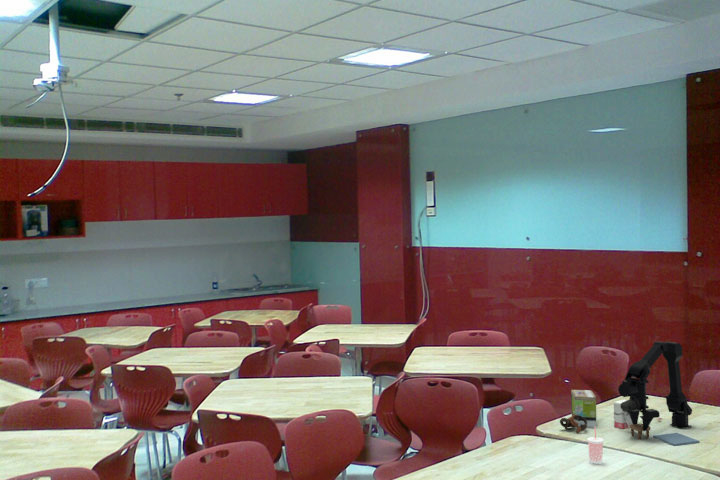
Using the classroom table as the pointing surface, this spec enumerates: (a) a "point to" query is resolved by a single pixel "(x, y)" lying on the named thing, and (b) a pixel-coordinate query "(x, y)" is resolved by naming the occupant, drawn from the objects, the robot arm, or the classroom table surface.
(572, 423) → the toy cannon
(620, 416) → the ink box
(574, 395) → the tea box
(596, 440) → the beverage cup
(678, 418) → the robot arm
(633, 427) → the walnut stool
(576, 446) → the classroom table surface
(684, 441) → the rubber mat
